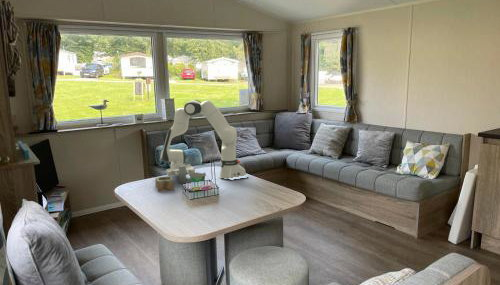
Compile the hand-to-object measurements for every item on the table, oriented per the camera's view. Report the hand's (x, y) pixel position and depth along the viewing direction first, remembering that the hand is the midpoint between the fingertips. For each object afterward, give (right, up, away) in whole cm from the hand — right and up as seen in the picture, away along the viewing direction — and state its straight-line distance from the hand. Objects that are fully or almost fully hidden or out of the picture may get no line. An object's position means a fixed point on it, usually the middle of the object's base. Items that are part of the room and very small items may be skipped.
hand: (182, 174), depth 264 cm
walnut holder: (-11, -9, -9) cm, 17 cm away
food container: (+10, -9, -6) cm, 15 cm away
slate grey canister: (0, -6, +2) cm, 7 cm away
